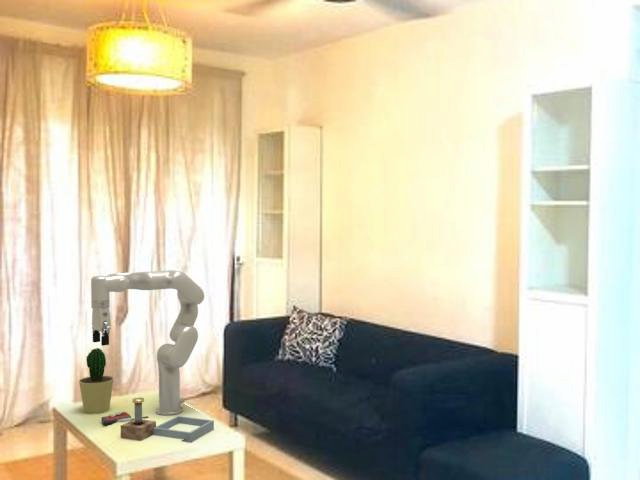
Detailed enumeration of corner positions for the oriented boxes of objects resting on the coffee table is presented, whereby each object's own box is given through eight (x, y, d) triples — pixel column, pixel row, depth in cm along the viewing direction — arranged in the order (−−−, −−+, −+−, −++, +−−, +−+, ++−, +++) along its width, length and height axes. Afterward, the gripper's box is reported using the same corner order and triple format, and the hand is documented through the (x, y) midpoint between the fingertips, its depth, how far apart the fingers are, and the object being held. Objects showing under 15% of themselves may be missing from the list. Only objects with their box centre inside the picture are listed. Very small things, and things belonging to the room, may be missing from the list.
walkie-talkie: (104, 428, 283) (149, 420, 295) (104, 418, 283) (149, 410, 295) (98, 423, 291) (142, 415, 302) (98, 413, 290) (142, 406, 302)
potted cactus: (100, 404, 320) (99, 342, 319) (120, 409, 311) (120, 346, 310) (72, 411, 308) (71, 347, 307) (92, 417, 299) (91, 351, 298)
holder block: (136, 432, 277) (136, 418, 277) (156, 435, 273) (156, 421, 273) (120, 440, 268) (120, 425, 267) (141, 443, 264) (140, 428, 264)
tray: (178, 424, 288) (178, 415, 288) (213, 429, 281) (213, 420, 281) (153, 437, 271) (153, 427, 271) (190, 442, 264) (190, 433, 264)
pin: (137, 433, 273) (137, 397, 273) (146, 434, 272) (146, 398, 271) (130, 436, 269) (130, 400, 269) (139, 437, 267) (139, 401, 267)
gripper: (116, 305, 281) (117, 345, 282) (101, 301, 295) (101, 339, 295) (99, 307, 277) (100, 347, 277) (84, 303, 290) (84, 341, 290)
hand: (100, 343), depth 286 cm, fingers open, 9 cm apart
